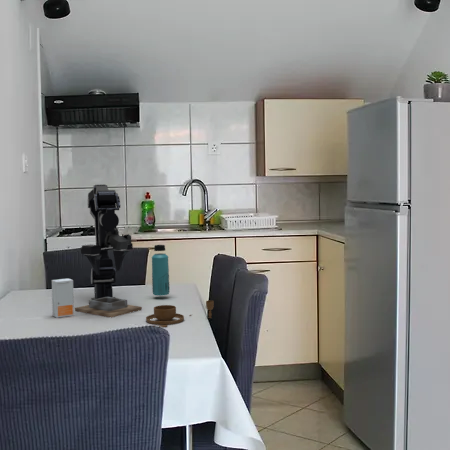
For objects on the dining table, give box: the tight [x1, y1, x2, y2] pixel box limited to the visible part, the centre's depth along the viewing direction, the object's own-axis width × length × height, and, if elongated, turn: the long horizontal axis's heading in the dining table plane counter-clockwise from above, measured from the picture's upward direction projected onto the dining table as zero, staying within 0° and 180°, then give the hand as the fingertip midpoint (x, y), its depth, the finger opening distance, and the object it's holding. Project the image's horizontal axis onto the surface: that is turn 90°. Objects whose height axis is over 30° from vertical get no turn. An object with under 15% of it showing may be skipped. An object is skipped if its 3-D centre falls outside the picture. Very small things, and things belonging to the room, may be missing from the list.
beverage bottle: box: [151, 244, 170, 296], centre depth 228 cm, size 6×7×20 cm
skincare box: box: [51, 278, 75, 319], centre depth 200 cm, size 6×4×12 cm
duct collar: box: [74, 296, 143, 318], centre depth 208 cm, size 18×14×4 cm
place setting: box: [145, 300, 215, 328], centre depth 191 cm, size 18×20×6 cm
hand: (108, 272), depth 209 cm, fingers open, 9 cm apart
